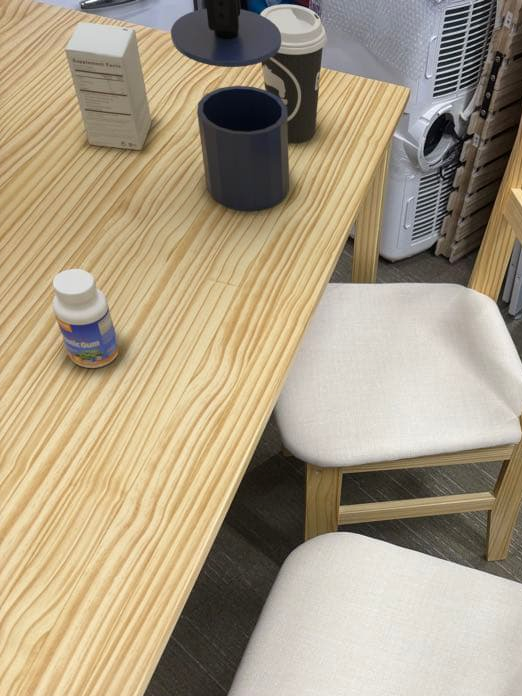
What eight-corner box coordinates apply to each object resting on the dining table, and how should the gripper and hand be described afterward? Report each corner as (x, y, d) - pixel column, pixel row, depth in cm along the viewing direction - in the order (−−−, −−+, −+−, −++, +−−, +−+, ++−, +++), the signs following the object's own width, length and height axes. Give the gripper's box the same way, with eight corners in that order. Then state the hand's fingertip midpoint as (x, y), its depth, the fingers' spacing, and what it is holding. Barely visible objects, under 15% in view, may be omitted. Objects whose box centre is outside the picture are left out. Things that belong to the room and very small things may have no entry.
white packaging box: (100, 116, 111) (78, 19, 101) (153, 122, 112) (136, 26, 101) (87, 145, 107) (62, 48, 97) (141, 151, 108) (123, 55, 97)
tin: (204, 209, 102) (194, 131, 93) (209, 161, 108) (200, 83, 99) (289, 213, 104) (287, 136, 95) (289, 164, 109) (287, 88, 101)
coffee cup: (323, 152, 112) (325, 40, 99) (256, 146, 111) (249, 32, 98) (327, 116, 117) (328, 5, 104) (262, 110, 116) (256, -3, 104)
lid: (167, 69, 83) (156, -1, 78) (177, 15, 90) (168, -54, 84) (280, 76, 85) (278, 8, 79) (282, 22, 91) (280, -44, 85)
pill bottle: (61, 364, 85) (34, 293, 77) (80, 331, 88) (56, 259, 80) (109, 373, 85) (88, 303, 77) (127, 340, 88) (108, 269, 80)
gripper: (170, -235, 74) (195, -15, 89) (152, -175, 65) (183, 57, 80) (250, -226, 74) (261, -10, 90) (243, -166, 66) (257, 62, 81)
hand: (224, 20), depth 85 cm, fingers closed on lid, 2 cm apart
